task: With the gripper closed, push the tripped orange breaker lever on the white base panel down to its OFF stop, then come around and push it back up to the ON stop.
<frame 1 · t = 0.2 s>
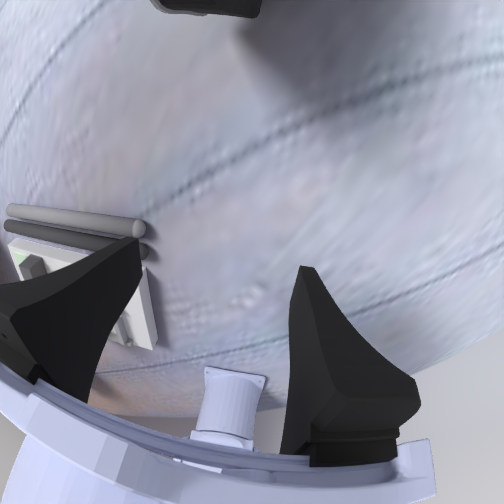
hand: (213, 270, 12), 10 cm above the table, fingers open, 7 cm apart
cord b: (63, 213, 23), on the table
cord a: (61, 232, 24), on the table
white base panel: (77, 286, 29), on the table
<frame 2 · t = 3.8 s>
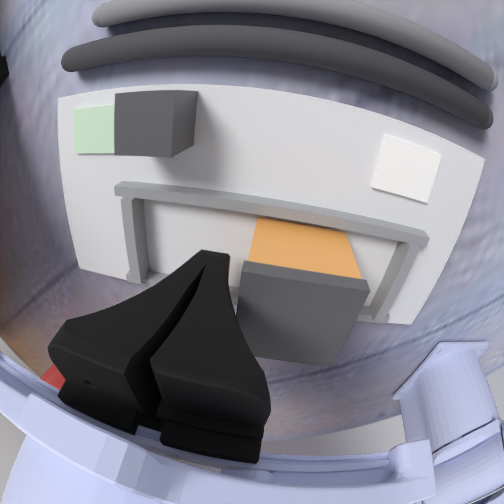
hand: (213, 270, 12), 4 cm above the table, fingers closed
cord b: (303, 9, 8), on the table
cord a: (276, 47, 10), on the table
breaker lever: (294, 290, 11), point 4 cm above the table, slide at 2.7 cm, touching gripper
flower pot: (112, 353, 25), on the table
white base panel: (255, 197, 14), on the table
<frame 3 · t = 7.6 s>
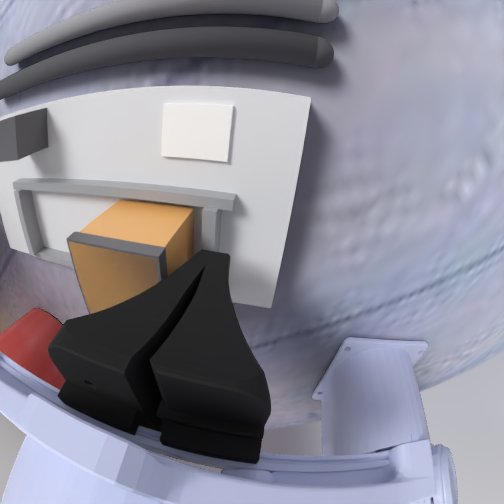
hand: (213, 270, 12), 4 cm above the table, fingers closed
cord b: (125, 16, 9), on the table
cord a: (105, 55, 10), on the table
breaker lever: (138, 262, 11), point 4 cm above the table, slide at 0.4 cm, touching gripper
flower pot: (54, 330, 25), on the table
white base panel: (104, 181, 14), on the table
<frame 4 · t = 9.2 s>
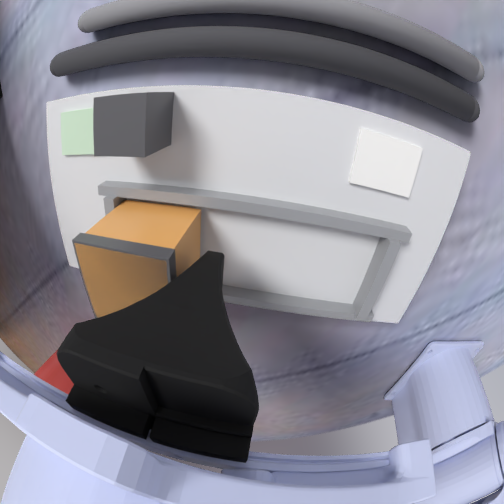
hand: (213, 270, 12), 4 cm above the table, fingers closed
cord b: (280, 7, 8), on the table
cord a: (253, 46, 10), on the table
breaker lever: (145, 264, 11), point 4 cm above the table, slide at 8.2 cm, touching gripper
flower pot: (105, 351, 25), on the table
white base panel: (235, 195, 14), on the table
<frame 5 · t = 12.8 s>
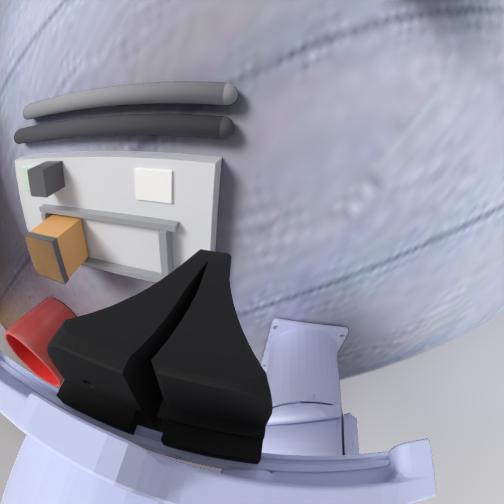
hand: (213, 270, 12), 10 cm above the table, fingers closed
cord b: (107, 96, 17), on the table
cord a: (97, 125, 18), on the table
breaker lever: (57, 246, 19), point 4 cm above the table, slide at 8.0 cm
flower pot: (63, 315, 33), on the table
white base panel: (103, 208, 22), on the table
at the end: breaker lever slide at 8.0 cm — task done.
